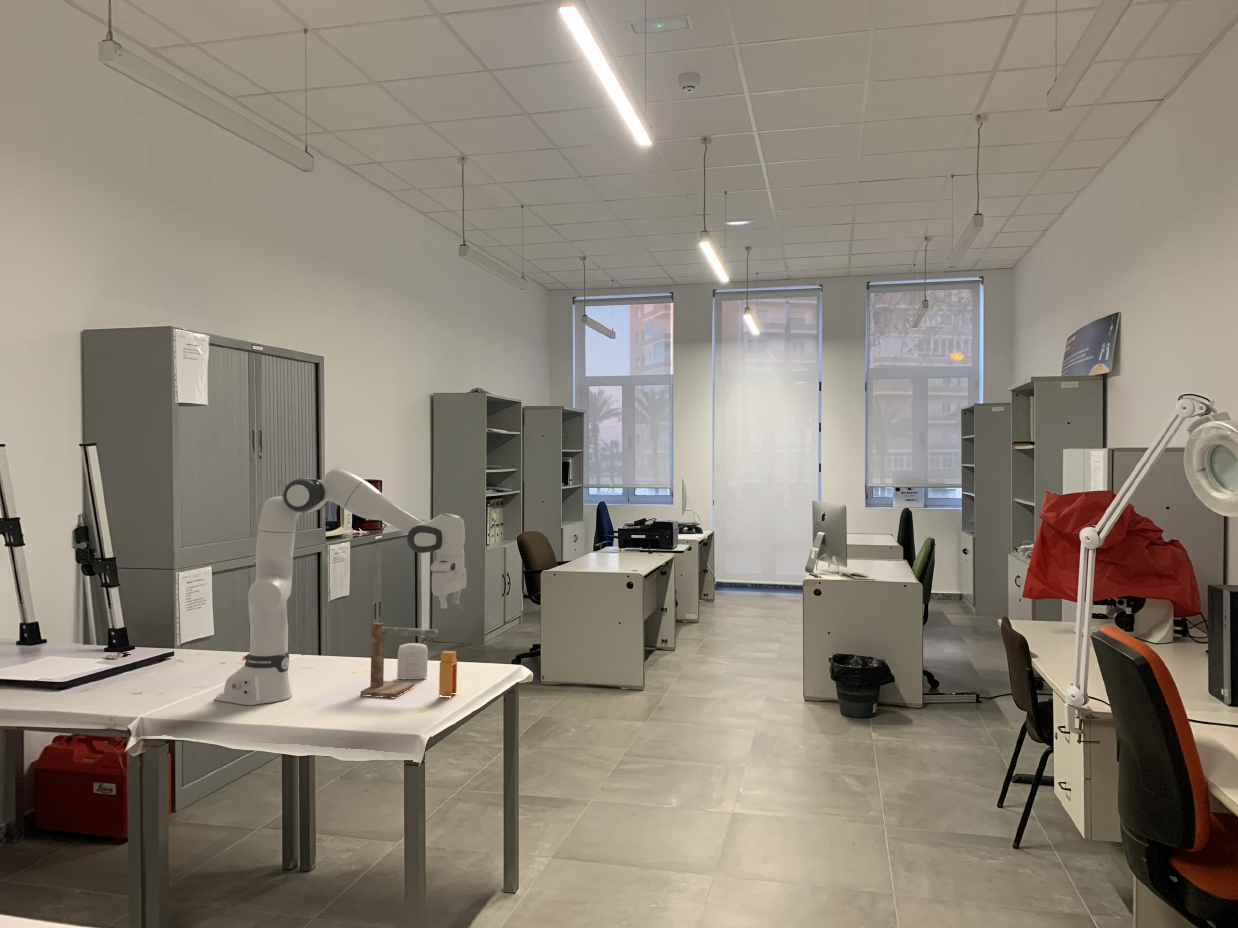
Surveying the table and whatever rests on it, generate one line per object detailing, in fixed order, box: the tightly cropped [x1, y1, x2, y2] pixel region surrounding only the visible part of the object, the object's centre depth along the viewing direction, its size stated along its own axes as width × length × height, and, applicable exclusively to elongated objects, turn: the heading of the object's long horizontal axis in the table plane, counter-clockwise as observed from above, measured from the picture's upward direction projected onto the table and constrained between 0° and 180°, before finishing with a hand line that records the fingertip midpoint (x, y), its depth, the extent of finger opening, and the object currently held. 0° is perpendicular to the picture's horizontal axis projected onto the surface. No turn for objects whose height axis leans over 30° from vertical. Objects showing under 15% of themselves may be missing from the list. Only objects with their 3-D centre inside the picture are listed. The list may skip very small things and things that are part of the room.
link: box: [438, 650, 458, 696], centre depth 259 cm, size 4×5×14 cm
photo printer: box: [396, 642, 429, 680], centre depth 281 cm, size 10×4×12 cm, turn 98°
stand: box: [360, 621, 439, 698], centre depth 262 cm, size 22×14×22 cm, turn 79°
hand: (449, 606), depth 259 cm, fingers open, 8 cm apart
